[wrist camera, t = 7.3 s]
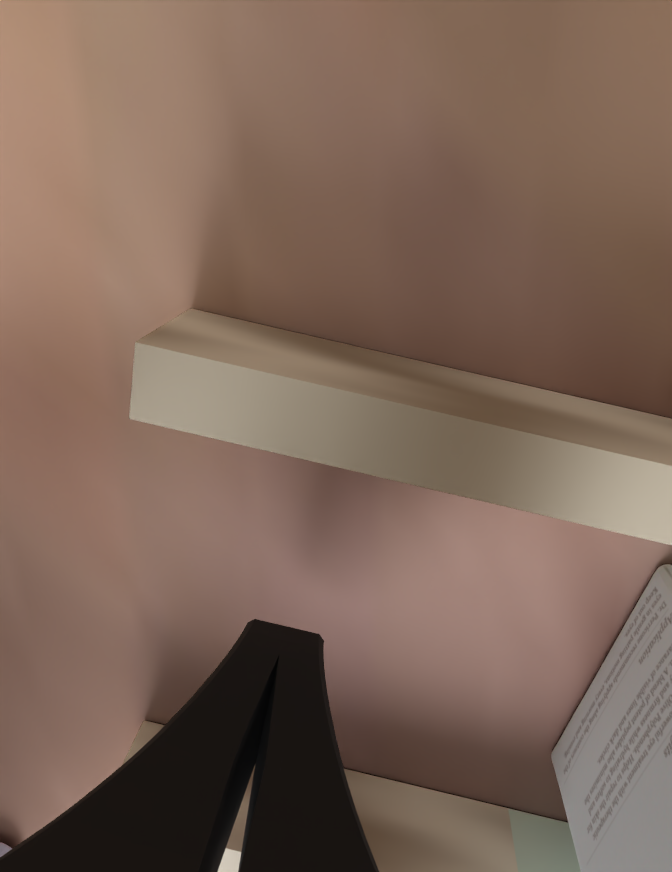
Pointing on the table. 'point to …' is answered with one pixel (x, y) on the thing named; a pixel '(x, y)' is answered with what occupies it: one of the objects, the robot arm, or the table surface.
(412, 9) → the table surface
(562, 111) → the table surface
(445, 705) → the table surface
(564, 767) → the small box
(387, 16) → the table surface
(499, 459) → the parallel cream rails
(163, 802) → the robot arm
